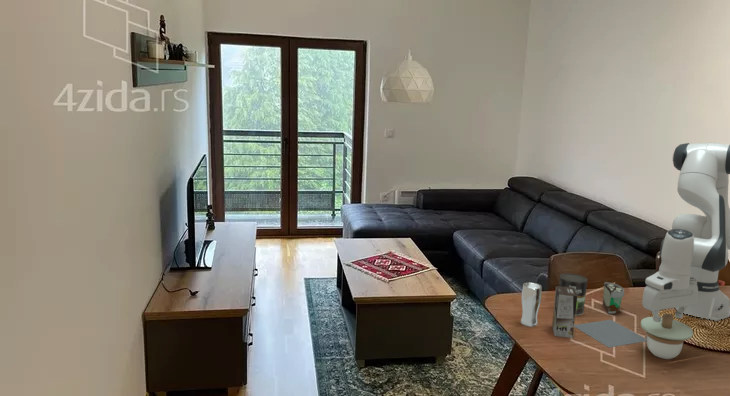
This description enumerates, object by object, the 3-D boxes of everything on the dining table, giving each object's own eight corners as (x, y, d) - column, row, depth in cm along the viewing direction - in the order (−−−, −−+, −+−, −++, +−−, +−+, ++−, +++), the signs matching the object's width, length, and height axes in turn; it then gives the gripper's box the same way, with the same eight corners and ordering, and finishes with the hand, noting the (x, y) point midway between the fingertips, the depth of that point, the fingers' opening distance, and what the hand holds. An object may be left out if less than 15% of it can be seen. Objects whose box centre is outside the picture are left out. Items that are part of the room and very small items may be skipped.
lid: (664, 316, 184) (665, 303, 183) (703, 336, 170) (706, 321, 169) (630, 322, 179) (632, 309, 178) (668, 343, 165) (670, 328, 164)
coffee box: (573, 339, 186) (577, 296, 183) (554, 337, 188) (558, 294, 185) (569, 328, 195) (574, 287, 192) (551, 326, 197) (555, 285, 193)
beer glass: (516, 319, 202) (519, 282, 199) (534, 319, 202) (537, 282, 199) (523, 327, 195) (526, 289, 192) (541, 327, 195) (545, 289, 192)
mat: (610, 320, 202) (610, 319, 202) (649, 341, 186) (649, 340, 186) (572, 326, 197) (572, 325, 196) (608, 348, 180) (608, 347, 180)
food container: (625, 318, 205) (628, 294, 203) (608, 316, 206) (611, 292, 204) (617, 305, 217) (620, 282, 215) (601, 304, 218) (604, 281, 216)
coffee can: (583, 318, 204) (587, 283, 201) (555, 313, 208) (559, 279, 205) (583, 308, 213) (587, 275, 211) (556, 304, 217) (560, 271, 214)
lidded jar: (666, 347, 182) (669, 321, 180) (688, 362, 172) (692, 336, 170) (637, 348, 181) (640, 323, 179) (658, 364, 170) (662, 337, 168)
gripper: (688, 273, 177) (682, 311, 180) (641, 279, 170) (636, 319, 173) (706, 279, 171) (699, 319, 174) (657, 286, 165) (652, 327, 167)
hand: (667, 319), depth 174 cm, fingers open, 8 cm apart
